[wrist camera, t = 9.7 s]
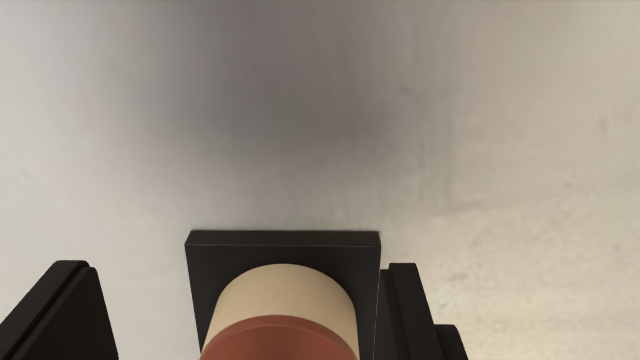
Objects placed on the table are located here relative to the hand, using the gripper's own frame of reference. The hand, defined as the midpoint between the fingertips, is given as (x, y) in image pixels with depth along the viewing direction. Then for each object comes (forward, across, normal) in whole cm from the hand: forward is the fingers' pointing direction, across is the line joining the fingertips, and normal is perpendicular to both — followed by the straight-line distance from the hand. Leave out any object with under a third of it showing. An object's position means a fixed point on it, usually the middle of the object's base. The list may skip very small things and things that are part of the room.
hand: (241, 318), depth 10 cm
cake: (+10, 0, +9) cm, 13 cm away
